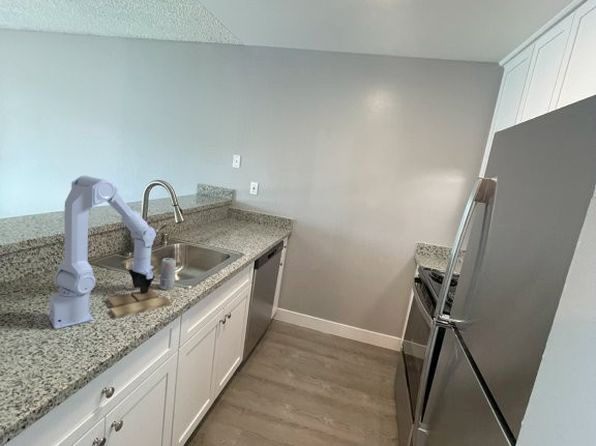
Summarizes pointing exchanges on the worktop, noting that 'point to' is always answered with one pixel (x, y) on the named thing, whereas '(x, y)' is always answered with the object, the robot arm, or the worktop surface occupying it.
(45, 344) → the worktop surface
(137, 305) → the laid board
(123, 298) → the brown flat square block
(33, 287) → the worktop surface
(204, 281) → the worktop surface
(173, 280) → the energy drink
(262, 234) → the worktop surface
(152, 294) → the plank
